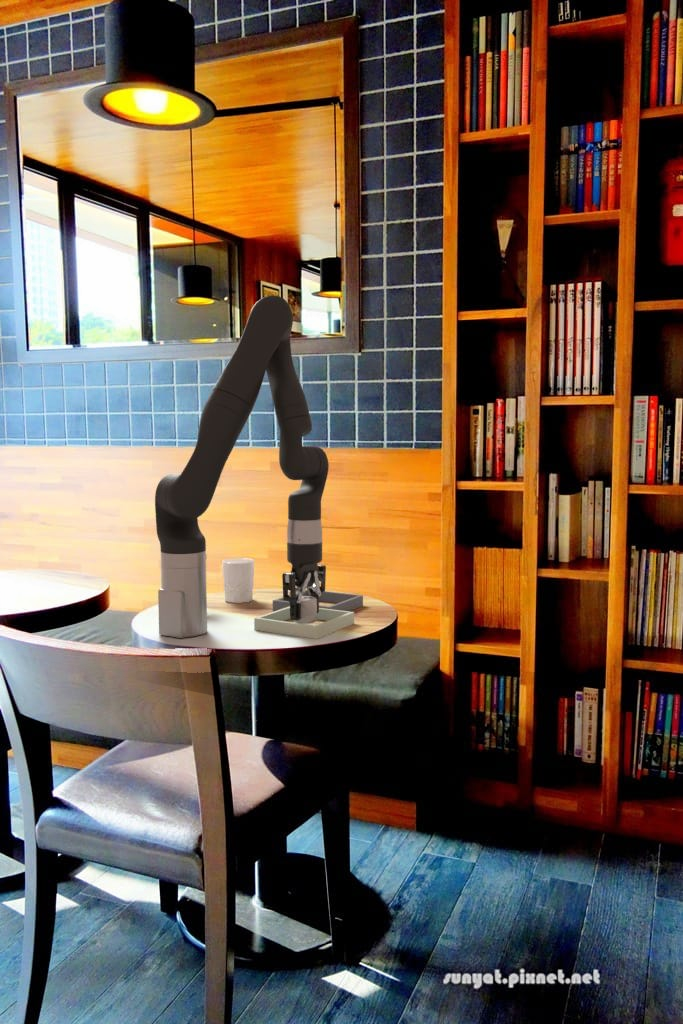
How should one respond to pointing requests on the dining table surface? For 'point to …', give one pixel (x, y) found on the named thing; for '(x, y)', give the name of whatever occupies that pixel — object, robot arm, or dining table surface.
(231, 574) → the white cup
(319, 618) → the sage frame
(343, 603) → the gray frame
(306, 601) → the die
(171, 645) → the dining table surface
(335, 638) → the dining table surface
